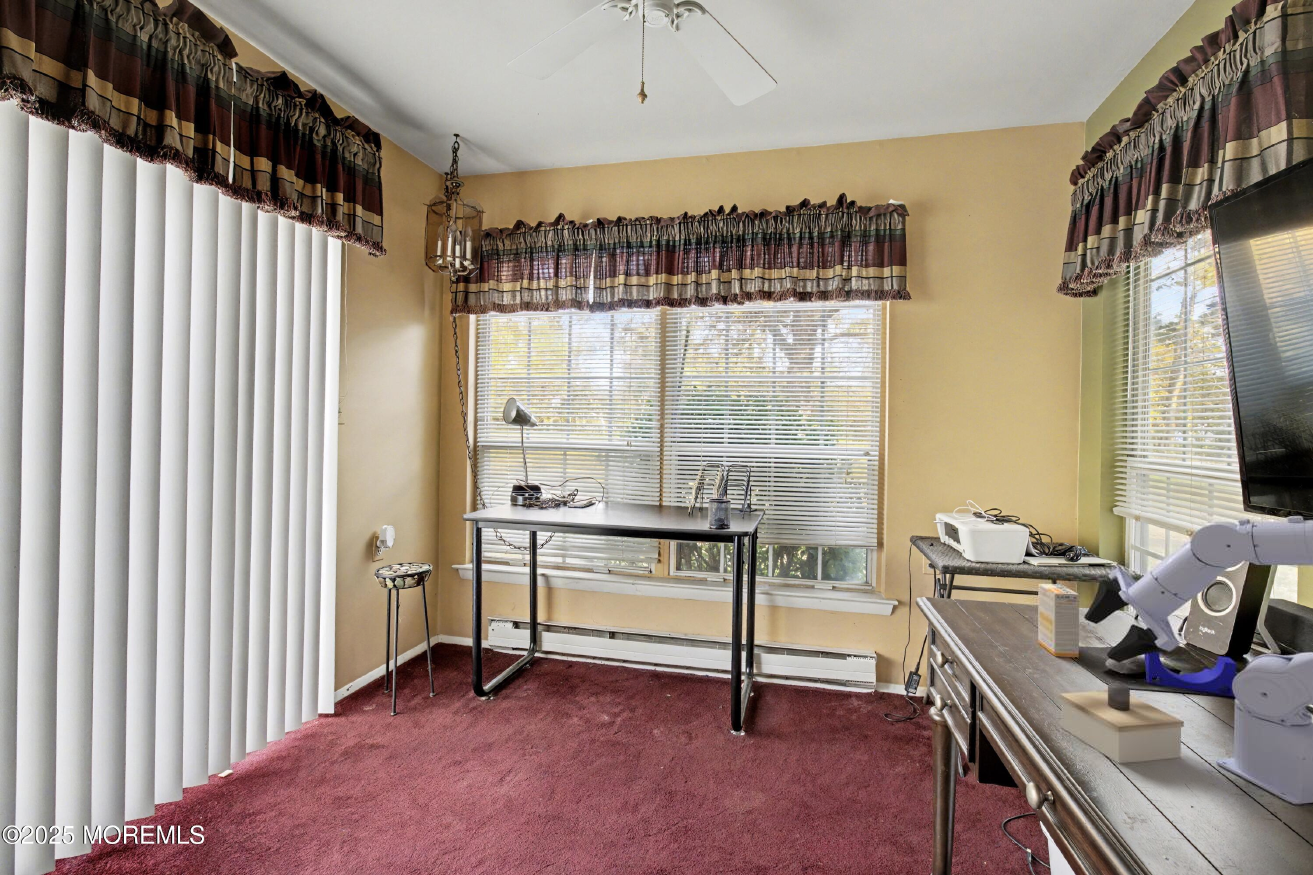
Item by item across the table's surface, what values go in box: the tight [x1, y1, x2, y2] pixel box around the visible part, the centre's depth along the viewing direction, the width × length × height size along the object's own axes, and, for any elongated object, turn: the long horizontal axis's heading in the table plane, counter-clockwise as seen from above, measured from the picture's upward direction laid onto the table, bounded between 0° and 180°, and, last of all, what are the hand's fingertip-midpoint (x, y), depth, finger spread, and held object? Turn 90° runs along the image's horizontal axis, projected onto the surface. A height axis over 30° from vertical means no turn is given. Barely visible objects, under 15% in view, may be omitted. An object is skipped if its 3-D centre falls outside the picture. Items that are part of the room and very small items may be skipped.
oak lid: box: [1059, 682, 1185, 732], centre depth 90 cm, size 10×10×4 cm
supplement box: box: [1037, 583, 1080, 659], centre depth 126 cm, size 8×5×13 cm, turn 168°
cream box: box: [1060, 700, 1182, 764], centre depth 90 cm, size 10×10×4 cm
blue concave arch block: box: [1143, 652, 1237, 697], centre depth 109 cm, size 12×4×6 cm, turn 62°
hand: (1101, 638), depth 96 cm, fingers open, 7 cm apart
